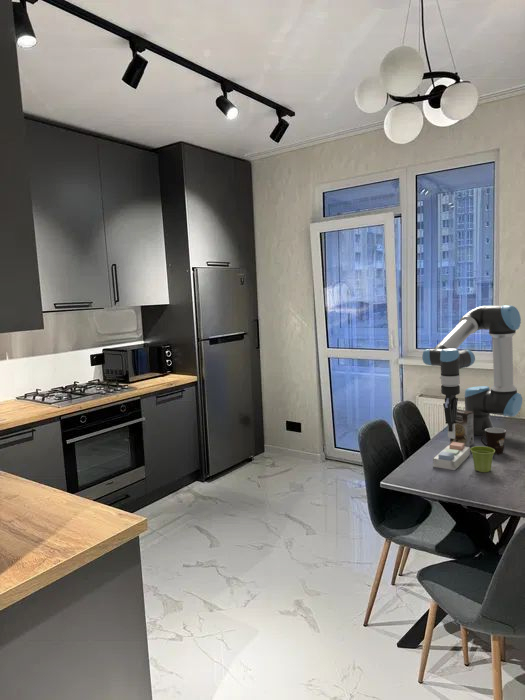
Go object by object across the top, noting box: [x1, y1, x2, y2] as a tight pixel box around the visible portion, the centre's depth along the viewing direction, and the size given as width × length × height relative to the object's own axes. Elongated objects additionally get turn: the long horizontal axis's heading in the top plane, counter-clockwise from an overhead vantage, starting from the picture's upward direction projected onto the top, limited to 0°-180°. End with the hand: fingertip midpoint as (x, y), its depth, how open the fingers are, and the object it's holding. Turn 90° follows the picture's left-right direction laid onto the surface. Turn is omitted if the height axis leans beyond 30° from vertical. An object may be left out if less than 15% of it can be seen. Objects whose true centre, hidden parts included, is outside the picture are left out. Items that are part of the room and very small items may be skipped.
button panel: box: [432, 444, 471, 471], centre depth 222 cm, size 22×9×4 cm, turn 143°
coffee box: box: [449, 408, 475, 447], centre depth 243 cm, size 9×6×16 cm
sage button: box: [445, 449, 460, 456], centre depth 222 cm, size 5×5×3 cm
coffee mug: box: [480, 427, 507, 455], centre depth 229 cm, size 12×9×10 cm
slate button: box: [437, 450, 454, 461], centre depth 216 cm, size 5×5×3 cm
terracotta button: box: [450, 442, 464, 451], centre depth 227 cm, size 5×5×3 cm
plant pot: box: [470, 445, 495, 473], centre depth 208 cm, size 9×9×9 cm
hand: (451, 437), depth 221 cm, fingers closed
